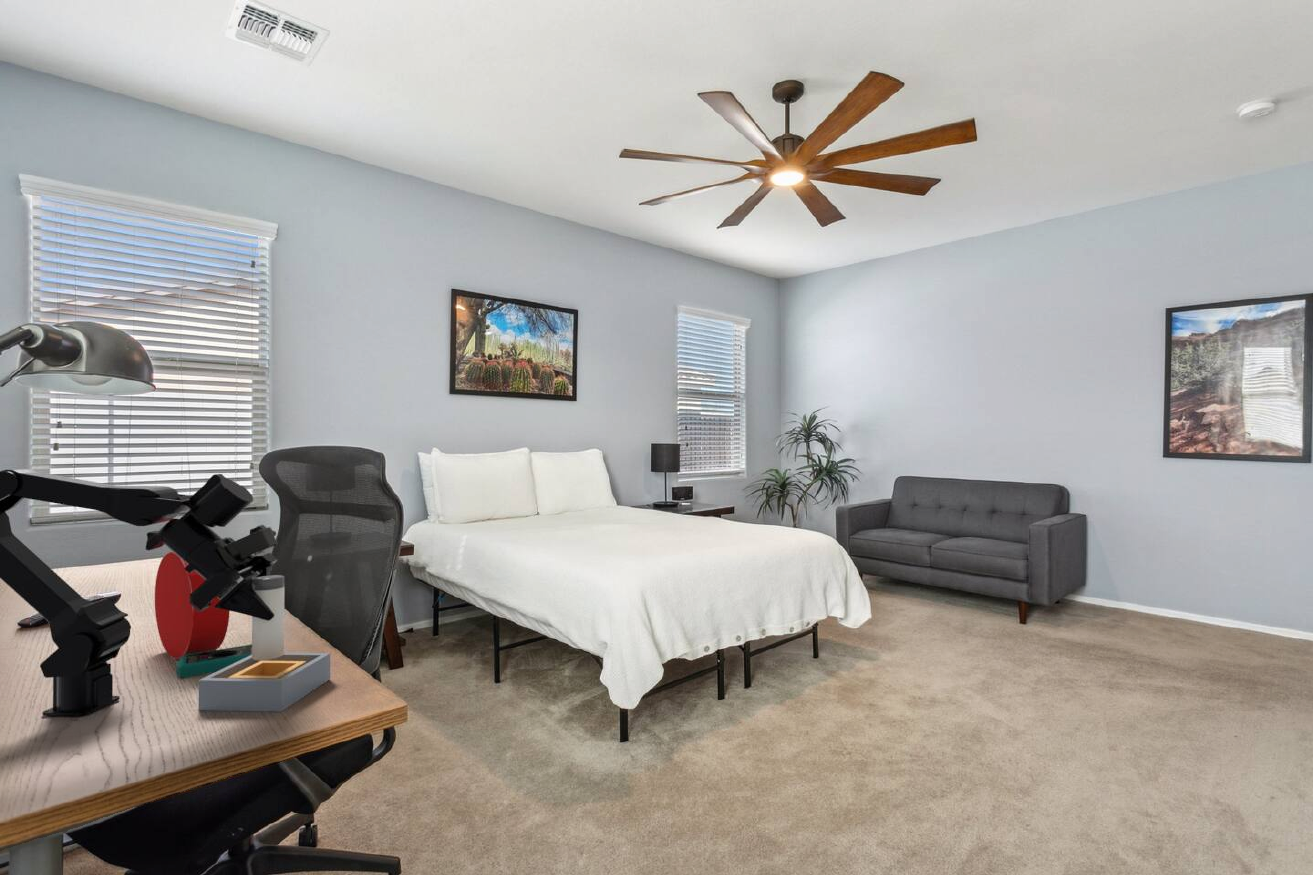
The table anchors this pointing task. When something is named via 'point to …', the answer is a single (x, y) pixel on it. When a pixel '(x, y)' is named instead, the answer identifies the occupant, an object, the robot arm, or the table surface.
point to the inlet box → (264, 682)
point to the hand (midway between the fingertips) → (277, 614)
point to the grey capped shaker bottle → (269, 632)
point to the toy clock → (185, 611)
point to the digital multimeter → (211, 660)
